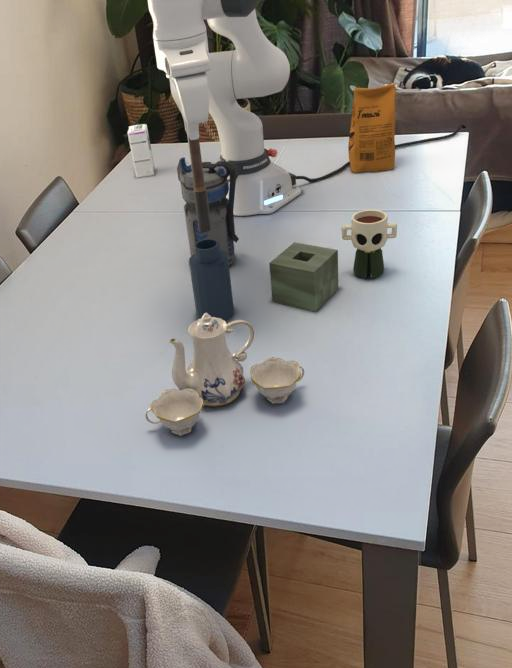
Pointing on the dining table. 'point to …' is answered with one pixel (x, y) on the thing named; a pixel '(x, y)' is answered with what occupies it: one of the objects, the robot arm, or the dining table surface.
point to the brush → (199, 185)
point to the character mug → (369, 240)
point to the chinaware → (217, 376)
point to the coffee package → (372, 129)
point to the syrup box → (141, 150)
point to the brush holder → (304, 276)
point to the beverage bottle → (211, 204)
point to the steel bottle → (211, 280)
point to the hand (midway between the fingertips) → (192, 135)
